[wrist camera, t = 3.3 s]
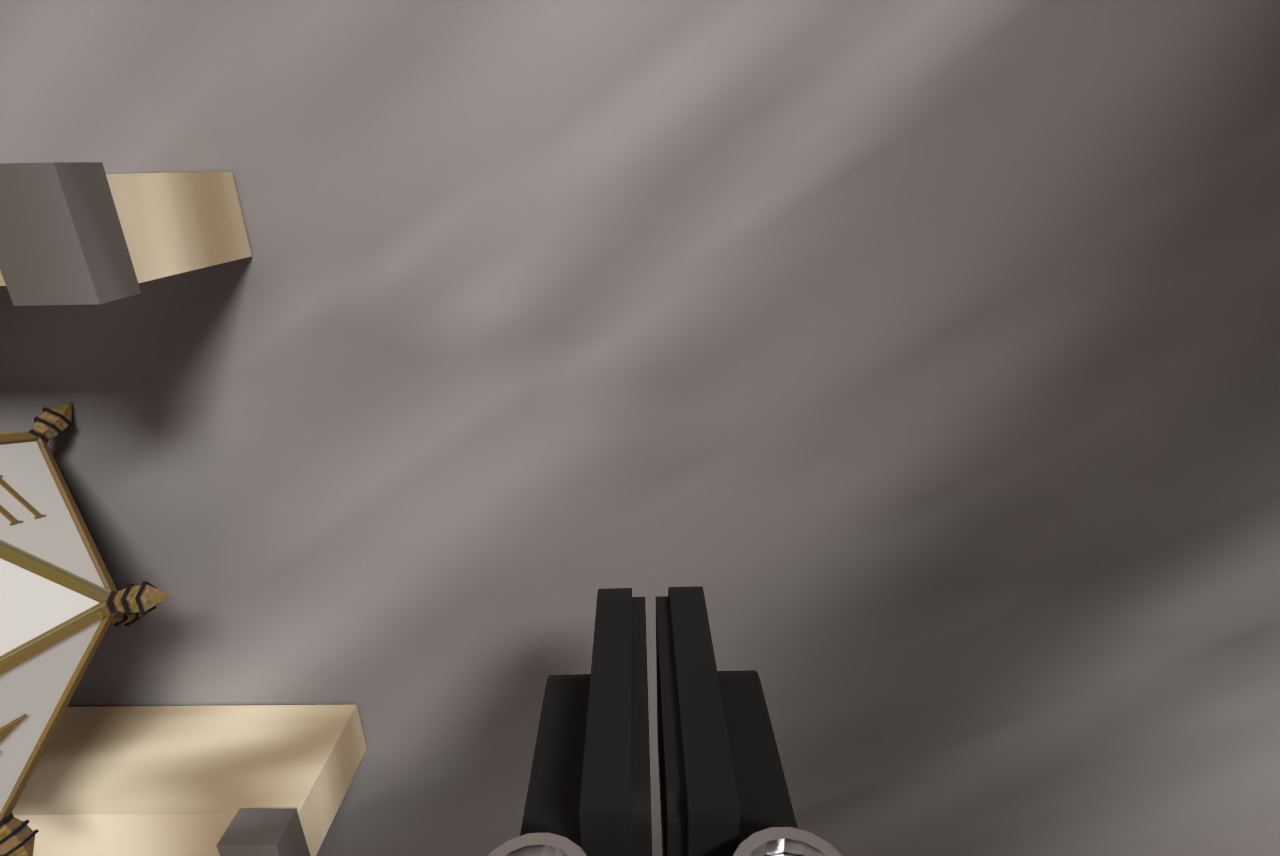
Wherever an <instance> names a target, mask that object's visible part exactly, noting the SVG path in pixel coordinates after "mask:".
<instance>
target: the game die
mask: <svg viewBox="0 0 1280 856" xmlns="http://www.w3.org/2000/svg"><path fill="white" fill-rule="evenodd" d="M71 414H72V402H70V403H67V404H63V405H59V406H56V407H52V408H46V407H44V408H43V414H42V415H41V416H40V417H39V418H38V417H35V418H34V422H35V424H34V426H33V428H32V430H30V431H29V432H6V431H0V853H1V854H0V856H33V851H34V842H35V834H36V833H38V832H39V831H38V830H37V829H36V830H34V831H33V830H32V829H31V828H30V827H29V826H28V825H27V824H28V823H29V822H30V821H29V820H26V821H24V822H23V821H21V820H19V819H17V818H15V817H14V816H13V813H12V811H13V809H14V807H15V805H16V803H17V801H18V800H19V798H20V796H21V794H22V792H23V790H24V788H25V786H26V784H27V782H28V780H29V779H30V777H31V775H32V773H33V771H34V769H35V767H36V765H37V763H38V761H39V760H40V758H41V756H42V754H43V752H44V750H45V748H46V746H47V744H48V742H49V740H50V739H51V737H52V735H53V733H54V731H55V729H56V727H57V725H58V723H59V721H60V719H61V718H62V716H63V714H64V712H65V710H66V708H67V706H68V704H69V702H70V700H71V698H72V697H73V695H74V693H75V691H76V689H77V687H78V685H79V683H80V681H81V679H82V677H83V676H84V674H85V672H86V670H87V668H88V666H89V664H90V662H91V660H92V658H93V656H94V655H95V653H96V651H97V649H98V647H99V645H100V643H101V641H102V639H103V637H104V635H105V634H106V632H107V630H108V628H109V626H110V624H111V623H113V624H114V626H119V625H120V624H125V626H129V625H130V624H132V623H134V622H135V621H137V620H139V617H140V616H142V615H145V614H146V613H148V612H150V611H151V610H153V609H155V608H156V605H157V604H159V603H160V602H162V601H163V600H165V599H167V598H168V597H170V596H171V595H170V594H168V593H166V592H163V591H161V590H159V589H157V588H156V587H155V586H153V585H151V584H150V583H148V582H147V581H145V582H143V583H142V585H138V586H135V585H133V584H128V586H127V588H125V589H123V590H120V591H117V589H116V587H115V585H114V583H113V580H112V578H111V576H110V574H109V572H108V570H107V568H106V566H105V564H104V562H103V560H102V558H101V555H100V553H99V551H98V549H97V547H96V545H95V543H94V541H93V539H92V537H91V535H90V532H89V530H88V528H87V526H86V524H85V522H84V520H83V518H82V516H81V514H80V512H79V510H78V507H77V505H76V503H75V501H74V499H73V497H72V495H71V493H70V491H69V489H68V487H67V484H66V482H65V480H64V478H63V476H62V474H61V472H60V470H59V468H58V466H57V464H56V461H55V459H54V457H53V455H52V453H51V451H50V449H49V447H48V445H47V443H48V441H49V439H51V438H53V437H55V436H56V435H63V434H64V432H62V431H63V430H64V429H65V428H66V427H67V426H73V425H74V424H73V423H71Z"/></svg>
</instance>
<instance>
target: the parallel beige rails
mask: <svg viewBox="0 0 1280 856" xmlns="http://www.w3.org/2000/svg"><path fill="white" fill-rule="evenodd" d="M247 257H252V255H251V251H250V246H249V242H248V238H247V234H246V229H245V225H244V221H243V216H242V212H241V208H240V204H239V199H238V195H237V191H236V186H235V182H234V178H233V174H232V171H230V172H184V173H138V174H105V170H104V167H103V164H102V163H11V164H0V286H6V287H7V289H8V292H9V295H10V297H11V300H12V303H13V305H14V306H38V305H92V304H103V303H107V302H111V301H115V300H119V299H123V298H126V297H130V296H134V295H138V294H141V290H140V287H139V284H138V283H142V282H146V281H150V280H155V279H159V278H163V277H167V276H172V275H176V274H180V273H184V272H188V271H193V270H197V269H201V268H205V267H209V266H214V265H218V264H222V263H226V262H231V261H235V260H239V259H243V258H247ZM366 750H367V747H366V743H365V738H364V734H363V730H362V726H361V721H360V717H359V713H358V708H357V705H239V706H104V707H67V708H66V710H65V712H64V714H63V716H62V718H61V719H60V721H59V723H58V725H57V727H56V729H55V731H54V733H53V735H52V737H51V739H50V740H49V742H48V744H47V746H46V748H45V750H44V752H43V754H42V756H41V758H40V760H39V761H38V763H37V765H36V767H35V769H34V771H33V773H32V775H31V777H30V779H29V780H28V782H27V784H26V786H25V788H24V790H23V792H22V794H21V796H20V798H19V800H18V801H17V803H16V805H15V807H14V809H13V811H12V813H13V816H14V817H15V818H17V819H19V820H21V821H23V822H24V821H26V820H29V821H30V822H29V823H28V824H27V825H28V826H29V827H30V828H31V829H32V830H33V831H34V830H36V829H37V830H38V831H39V832H38V833H36V834H35V842H34V851H33V856H316V855H317V853H318V851H319V848H320V846H321V844H322V842H323V840H324V838H325V836H326V834H327V832H328V830H329V828H330V825H331V823H332V821H333V819H334V817H335V815H336V813H337V811H338V809H339V807H340V805H341V802H342V800H343V798H344V796H345V794H346V792H347V790H348V788H349V786H350V784H351V782H352V780H353V777H354V775H355V773H356V771H357V769H358V767H359V765H360V763H361V761H362V759H363V757H364V754H365V752H366ZM0 854H1V853H0Z"/></svg>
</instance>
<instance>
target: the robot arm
mask: <svg viewBox="0 0 1280 856" xmlns="http://www.w3.org/2000/svg"><path fill="white" fill-rule="evenodd" d="M656 655H657V726H658V757H659V780H660V802H661V825H662V848H663V856H843V855H841V854H840V853H839V852H838V851H837V850H836V849H835V848H834V847H833V846H832V845H831V844H830V843H829V842H827V841H825V840H823V839H821V838H820V837H818V836H816V835H814V834H812V833H811V832H808V831H804V830H800V829H798V828H797V824H796V820H795V817H794V813H793V809H792V805H791V801H790V797H789V793H788V789H787V785H786V781H785V777H784V773H783V769H782V765H781V761H780V757H779V753H778V749H777V745H776V741H775V737H774V733H773V729H772V725H771V722H770V718H769V714H768V710H767V706H766V702H765V698H764V694H763V690H762V686H761V682H760V679H759V676H758V673H757V672H756V671H717V669H716V663H715V657H714V651H713V645H712V639H711V633H710V628H709V622H708V616H707V610H706V604H705V598H704V592H703V588H702V587H669V590H668V597H656ZM488 856H652V831H651V789H650V754H649V719H648V683H647V648H646V613H645V597H632V588H616V589H598V596H597V607H596V619H595V631H594V643H593V654H592V666H591V674H584V675H549V677H548V679H547V684H546V688H545V694H544V700H543V706H542V712H541V718H540V723H539V729H538V735H537V741H536V747H535V753H534V758H533V764H532V770H531V776H530V782H529V787H528V793H527V799H526V805H525V811H524V817H523V822H522V828H521V834H520V836H519V837H516V838H512V839H510V840H508V841H507V842H505V843H503V844H502V845H500V846H499V847H497V848H496V849H494V850H492V851H491V853H490V854H489V855H488Z"/></svg>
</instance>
